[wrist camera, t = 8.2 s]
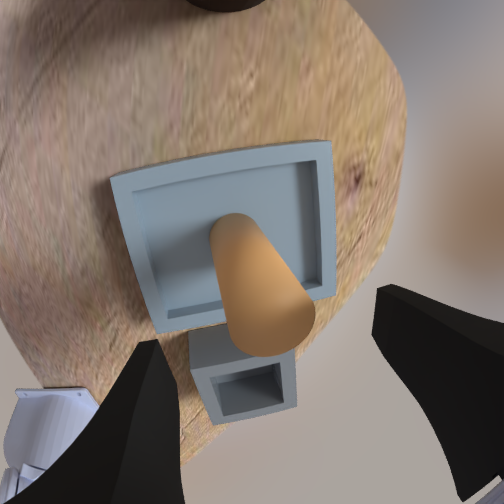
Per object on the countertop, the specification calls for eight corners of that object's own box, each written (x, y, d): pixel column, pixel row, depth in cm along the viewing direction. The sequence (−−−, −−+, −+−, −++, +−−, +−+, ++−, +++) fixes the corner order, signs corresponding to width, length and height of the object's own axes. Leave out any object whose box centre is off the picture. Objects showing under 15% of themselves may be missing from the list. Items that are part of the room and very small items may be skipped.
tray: (158, 316, 20) (157, 334, 18) (118, 172, 16) (109, 177, 14) (324, 281, 21) (336, 295, 19) (316, 139, 17) (331, 140, 15)
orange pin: (214, 265, 18) (236, 364, 10) (204, 218, 17) (221, 296, 9) (262, 255, 18) (315, 344, 11) (256, 208, 17) (314, 275, 9)
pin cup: (208, 388, 23) (213, 425, 20) (188, 331, 21) (190, 369, 17) (283, 372, 24) (297, 406, 20) (277, 312, 21) (294, 347, 18)
